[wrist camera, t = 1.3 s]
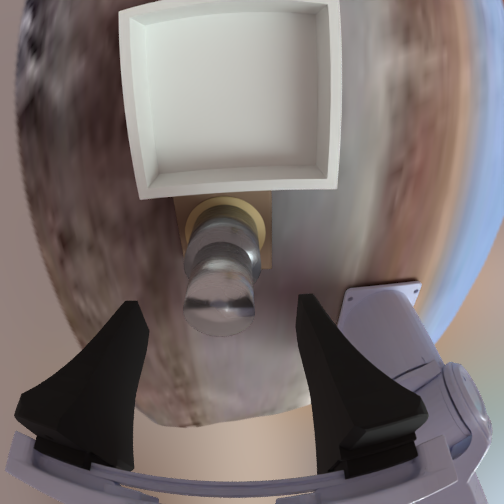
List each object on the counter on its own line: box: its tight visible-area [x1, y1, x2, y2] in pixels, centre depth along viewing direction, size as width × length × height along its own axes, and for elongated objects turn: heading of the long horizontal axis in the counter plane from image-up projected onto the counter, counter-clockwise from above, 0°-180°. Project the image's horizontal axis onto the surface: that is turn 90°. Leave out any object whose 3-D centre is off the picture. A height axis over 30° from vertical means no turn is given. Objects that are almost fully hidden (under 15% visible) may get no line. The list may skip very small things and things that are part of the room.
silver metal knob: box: [183, 205, 261, 337], centre depth 15 cm, size 4×4×7 cm
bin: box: [119, 0, 342, 200], centre depth 13 cm, size 11×11×3 cm
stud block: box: [173, 190, 272, 269], centre depth 19 cm, size 6×6×2 cm
